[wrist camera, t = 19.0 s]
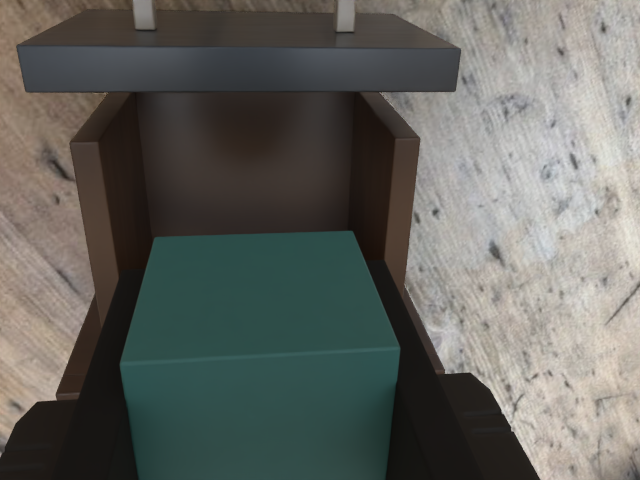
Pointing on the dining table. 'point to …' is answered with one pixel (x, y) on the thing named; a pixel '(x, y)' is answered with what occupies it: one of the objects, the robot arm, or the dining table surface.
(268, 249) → the block
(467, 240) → the dining table surface
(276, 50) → the drawer
